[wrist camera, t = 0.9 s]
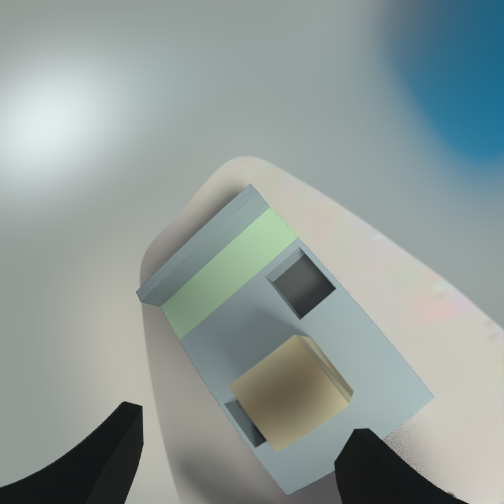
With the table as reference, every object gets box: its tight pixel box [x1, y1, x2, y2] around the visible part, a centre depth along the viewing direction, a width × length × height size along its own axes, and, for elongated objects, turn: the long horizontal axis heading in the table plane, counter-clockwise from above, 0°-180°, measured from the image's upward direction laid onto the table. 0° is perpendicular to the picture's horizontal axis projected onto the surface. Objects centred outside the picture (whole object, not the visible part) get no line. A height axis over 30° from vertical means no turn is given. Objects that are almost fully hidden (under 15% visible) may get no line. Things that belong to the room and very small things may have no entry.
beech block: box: [228, 335, 354, 452], centre depth 16 cm, size 5×5×5 cm
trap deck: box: [136, 184, 434, 495], centre depth 19 cm, size 19×12×4 cm, turn 36°
